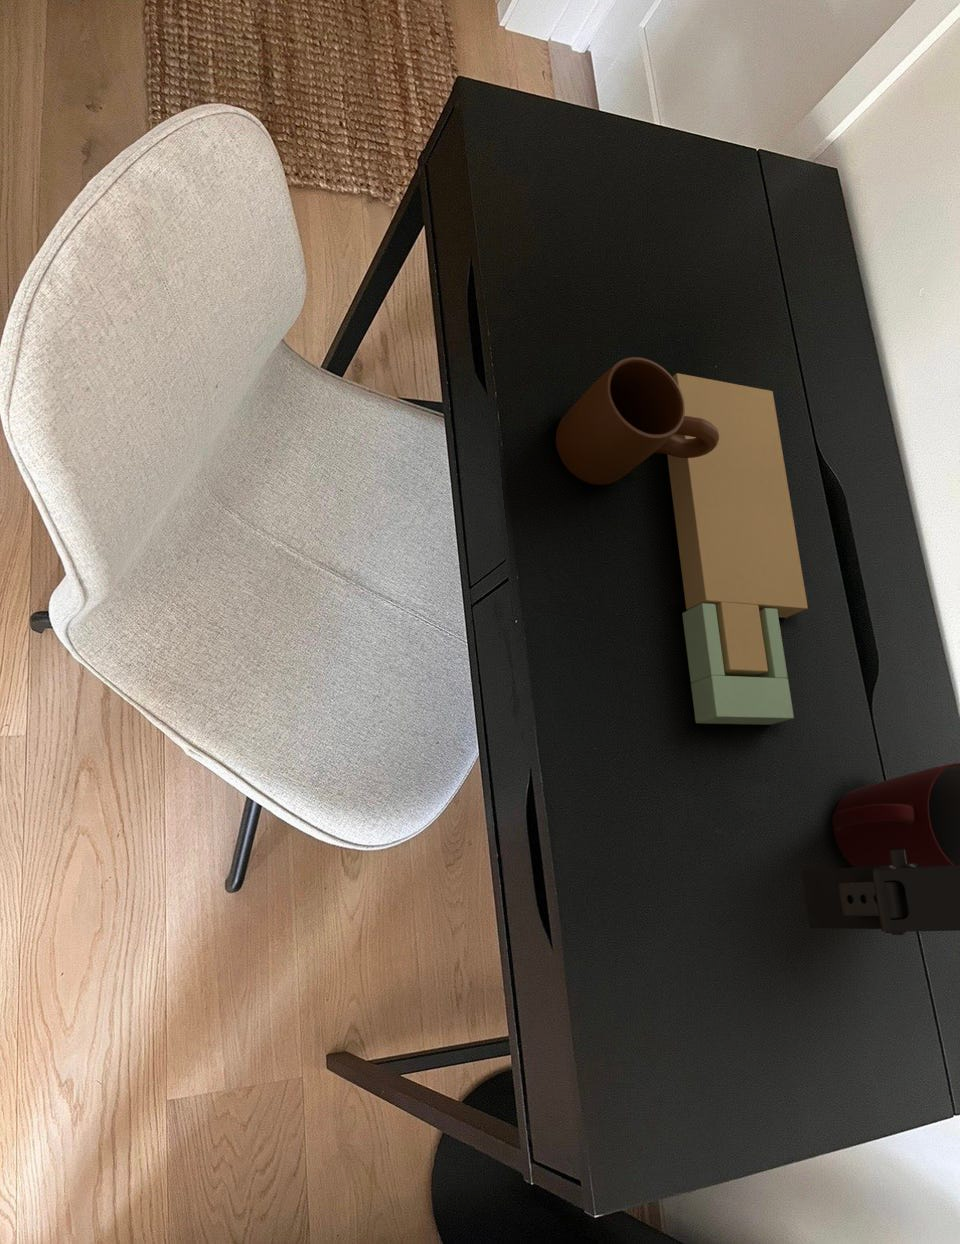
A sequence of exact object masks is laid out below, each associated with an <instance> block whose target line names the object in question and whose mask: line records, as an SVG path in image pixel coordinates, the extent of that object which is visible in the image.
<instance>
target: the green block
mask: <svg viewBox="0 0 960 1244" xmlns="http://www.w3.org/2000/svg"><path fill="white" fill-rule="evenodd" d="M681 614H682V623H683V631H684V638H685V639H684V640H685V647H686V655H687V663H688V671H689V677H690V678H689V679H690V681H689V682H690V688H691V697H692V703H693V704H692V705H693V710H694V712H693V713H694V720H695V723H696V724H709V725H710V724H711V725H712V724H714V725H716V724H717V725H726V724H727V725H763V726H765V725H768V726H769V725H775V724H779V723H783V722H786V721H790V720H793V719H794V718H795V717H794V716H795V715H794V709H793V703H792V697H791V690H790V684H789V683H790V682H789V677H788V671H787V664H786V658H785V650H784V646H783V638H782V632H781V626H780V619H779V618H780V617H778V612H777V609H771V608H764V609H762V610H759V614H760V621H761V628H762V634H763V641H764V648H765V655H766V662H767V668H768V671H767V672H764V673H762V674H759V675H756V676H753V677H738V676H724V675H725V673H724V666H723V659H722V651H721V644H720V636H719V629H718V621H717V614H716V606H715V604H706V603H702V604H700V605H698V606H696V607H694V608H692V609H690V610H688V611H687V610H686V611H684V612H682V613H681Z"/></svg>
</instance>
